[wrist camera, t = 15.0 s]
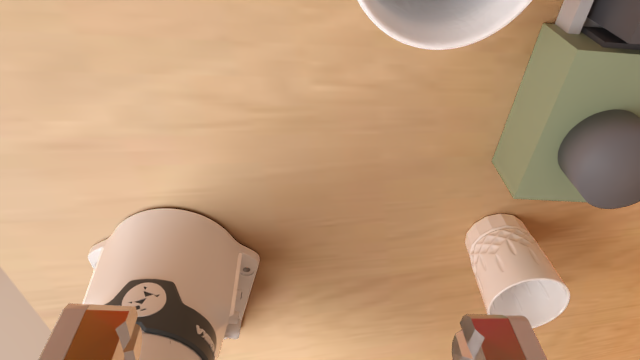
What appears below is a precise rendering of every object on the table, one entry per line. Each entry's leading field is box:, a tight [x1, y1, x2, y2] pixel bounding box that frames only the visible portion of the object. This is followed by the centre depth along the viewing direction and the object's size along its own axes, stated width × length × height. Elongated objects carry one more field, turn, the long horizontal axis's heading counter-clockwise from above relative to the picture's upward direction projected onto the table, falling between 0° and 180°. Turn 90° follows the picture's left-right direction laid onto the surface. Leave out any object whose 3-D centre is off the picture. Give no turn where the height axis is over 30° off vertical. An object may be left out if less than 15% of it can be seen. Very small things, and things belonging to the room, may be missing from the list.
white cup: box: [465, 213, 570, 328], centre depth 50 cm, size 8×8×10 cm
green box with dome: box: [492, 0, 640, 209], centre depth 36 cm, size 25×11×10 cm, turn 175°
